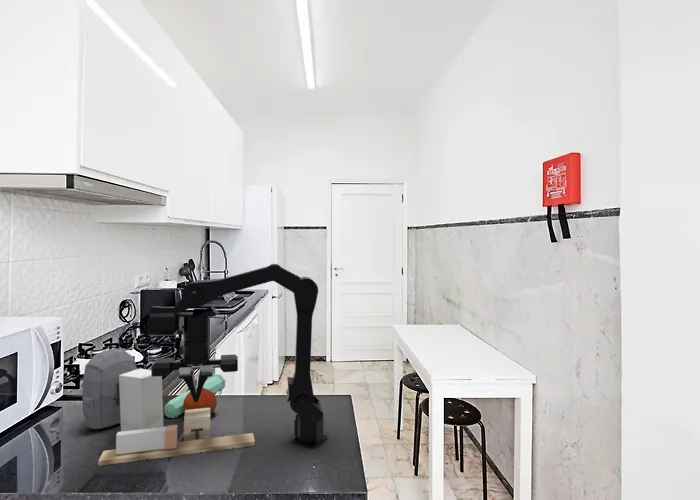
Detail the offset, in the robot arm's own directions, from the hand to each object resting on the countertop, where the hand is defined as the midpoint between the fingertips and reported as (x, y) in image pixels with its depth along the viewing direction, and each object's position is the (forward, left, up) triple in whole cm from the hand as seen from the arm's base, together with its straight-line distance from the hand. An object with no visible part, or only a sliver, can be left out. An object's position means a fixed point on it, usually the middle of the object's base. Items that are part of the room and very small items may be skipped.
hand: (196, 401), depth 103 cm
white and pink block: (+7, +8, -10) cm, 14 cm away
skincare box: (+18, +2, -11) cm, 21 cm away
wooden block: (+5, -4, -11) cm, 13 cm away
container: (+24, -20, -11) cm, 33 cm away
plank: (+2, +3, -11) cm, 11 cm away
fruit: (+15, -14, -11) cm, 23 cm away
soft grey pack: (+30, +2, -11) cm, 32 cm away
